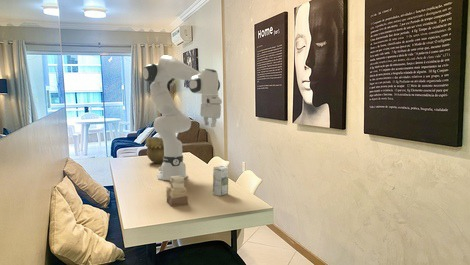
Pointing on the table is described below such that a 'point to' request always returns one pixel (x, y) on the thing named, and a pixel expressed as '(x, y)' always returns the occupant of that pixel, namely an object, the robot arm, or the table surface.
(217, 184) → the syrup box
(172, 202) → the walnut slab
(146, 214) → the table surface
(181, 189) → the oak slab
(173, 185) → the maple cube
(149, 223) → the table surface
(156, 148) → the clay pot
